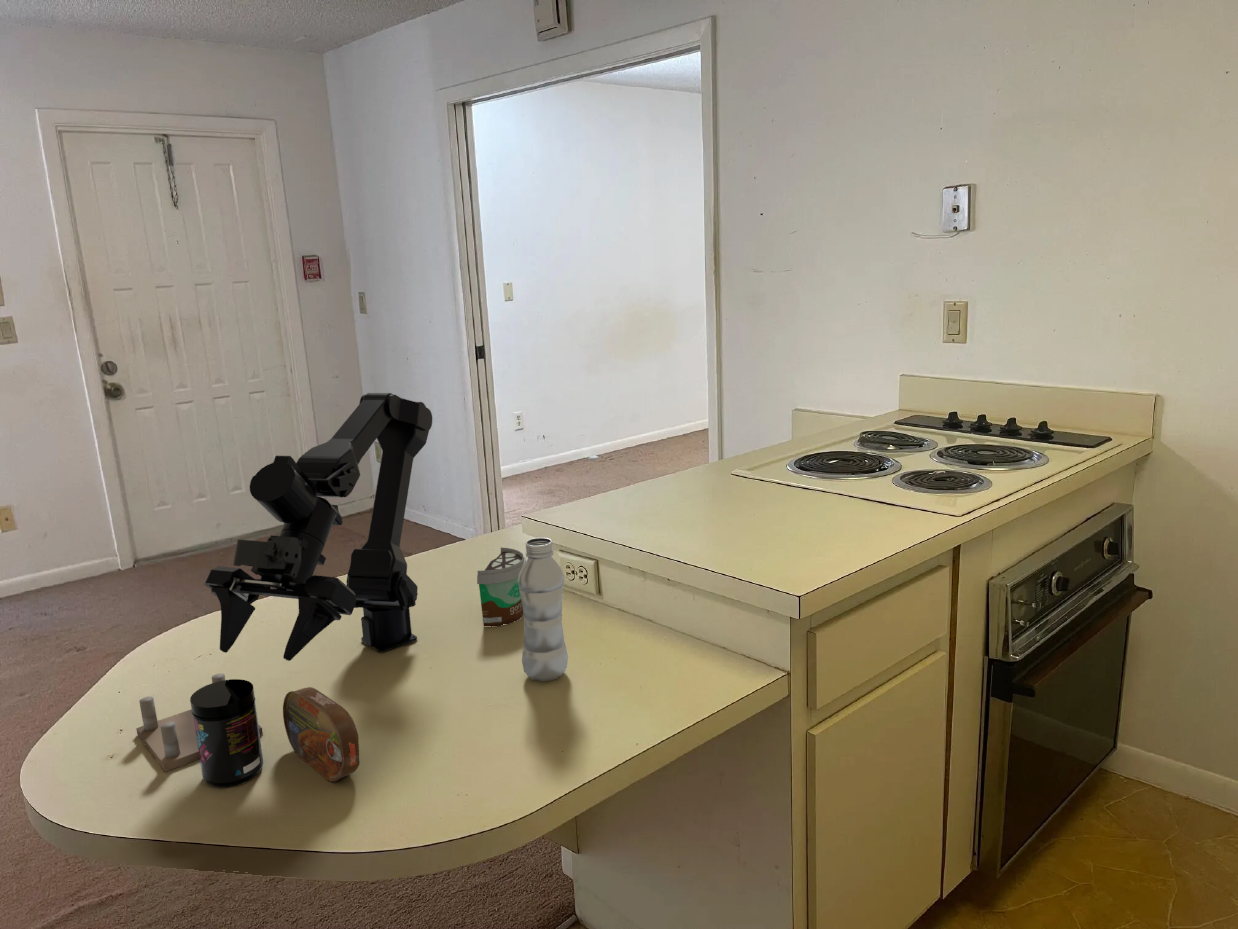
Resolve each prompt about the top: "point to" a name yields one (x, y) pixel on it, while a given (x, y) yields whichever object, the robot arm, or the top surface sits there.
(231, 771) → the supplement container
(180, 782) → the top surface
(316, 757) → the tin
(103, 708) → the top surface
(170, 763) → the cradle
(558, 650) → the plastic bottle
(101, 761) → the top surface
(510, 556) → the food container
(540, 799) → the top surface
